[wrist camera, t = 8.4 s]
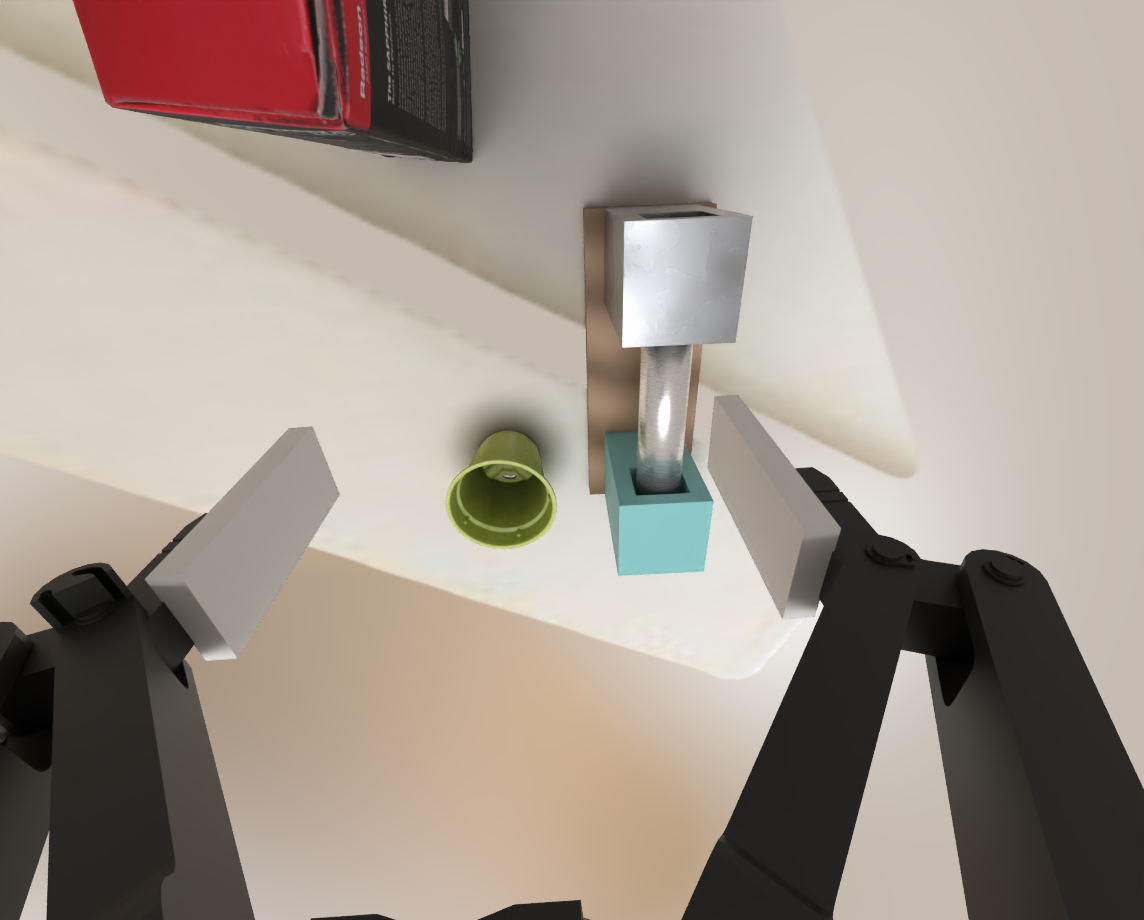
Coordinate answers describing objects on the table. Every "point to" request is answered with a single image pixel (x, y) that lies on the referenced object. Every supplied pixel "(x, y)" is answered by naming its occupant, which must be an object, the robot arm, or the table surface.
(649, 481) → the steel tube
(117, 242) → the table surface
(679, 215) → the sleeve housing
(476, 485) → the plant pot
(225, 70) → the graphics card box
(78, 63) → the table surface
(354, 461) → the table surface
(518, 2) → the table surface
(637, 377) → the walnut board
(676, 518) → the teal socket block
